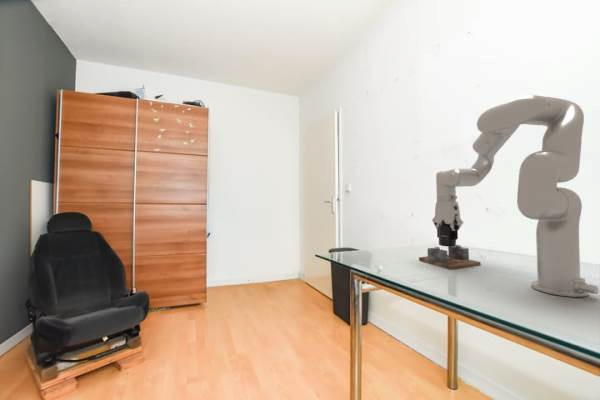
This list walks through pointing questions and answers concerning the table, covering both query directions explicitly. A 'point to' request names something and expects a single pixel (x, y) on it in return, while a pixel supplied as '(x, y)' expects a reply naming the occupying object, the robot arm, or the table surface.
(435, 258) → the bottle cradle
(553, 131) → the robot arm
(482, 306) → the table surface
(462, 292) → the table surface
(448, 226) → the supplement bottle
